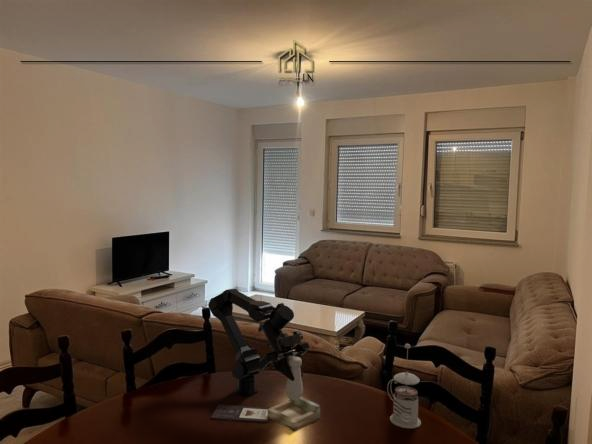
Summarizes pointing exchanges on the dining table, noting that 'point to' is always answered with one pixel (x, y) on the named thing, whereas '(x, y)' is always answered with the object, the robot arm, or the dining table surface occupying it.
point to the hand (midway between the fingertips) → (297, 378)
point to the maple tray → (295, 413)
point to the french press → (410, 413)
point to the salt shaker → (295, 387)
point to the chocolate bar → (240, 413)
